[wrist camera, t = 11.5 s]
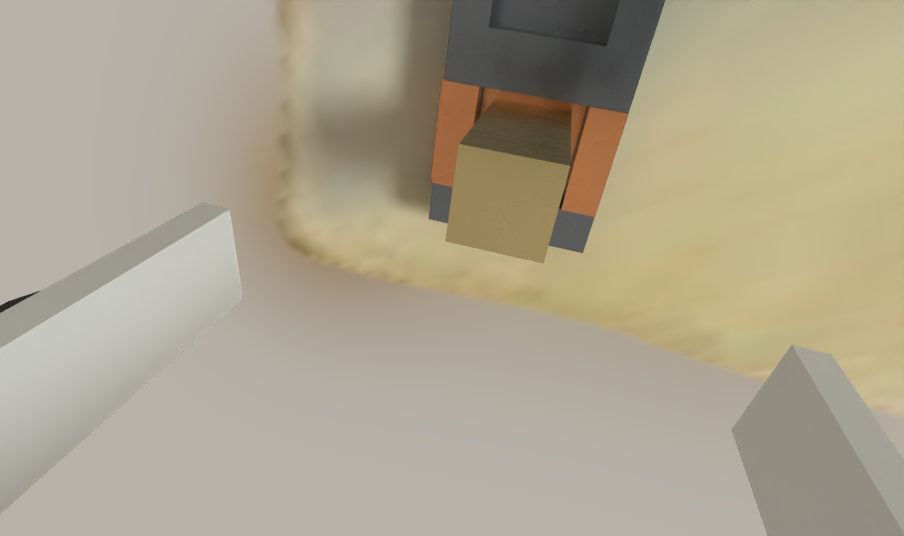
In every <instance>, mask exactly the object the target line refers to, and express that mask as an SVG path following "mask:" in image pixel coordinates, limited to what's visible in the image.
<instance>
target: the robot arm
mask: <svg viewBox="0 0 904 536" xmlns="http://www.w3.org/2000/svg"><path fill="white" fill-rule="evenodd" d="M242 298H243V294H242V288H241V281H240V274H239V268H238V262H237V255H236V248H235V242H234V235H233V229H232V223H231V216H230V210H229V209H226V208H222V207H217V206H213V205H209V204H205V203H201V204H199V205H198V206H195V207H194V208H192V209H190V210H188V211H186V212H184V213H183V214H181V215H179V216H177V217H175V218H174V219H172V220H170V221H168V222H166V223H164V224H162V225H161V226H159V227H157V228H155V229H153V230H152V231H150V232H148V233H146V234H144V235H142V236H140V237H139V238H137V239H135V240H133V241H131V242H129V243H128V244H126V245H124V246H122V247H120V248H119V249H117V250H115V251H113V252H111V253H109V254H108V255H106V256H104V257H102V258H100V259H98V260H96V261H95V262H93V263H91V264H89V265H87V266H85V267H84V268H82V269H80V270H78V271H76V272H75V273H73V274H71V275H69V276H67V277H65V278H64V279H62V280H60V281H58V282H56V283H54V284H53V285H51V286H49V287H47V288H45V289H43V290H41V291H38V292H35V293H32V294H29V295H26V296H23V297H20V298H17V299H14V300H11V301H8V302H6V303H4V304H3V305H1V306H0V514H1V513H2V512H3V511H4V510H5V509H6V508H8V507H9V505H11V504H12V503H13V502H14V501H15V500H16V499H18V498H19V497H20V496H21V495H22V494H23V493H24V492H25V491H27V489H29V488H30V487H31V486H32V485H33V484H34V483H36V482H37V481H38V480H39V479H40V478H41V477H42V476H43V475H45V474H46V473H47V472H48V471H49V470H50V469H51V468H52V467H54V466H55V465H56V464H57V463H58V462H59V461H60V460H61V459H62V458H64V457H65V456H66V455H67V454H68V453H69V452H70V451H72V450H73V449H74V448H75V447H76V446H77V445H78V444H79V443H80V442H82V441H83V440H84V439H85V438H86V437H87V436H88V435H90V434H91V433H92V432H93V431H94V430H95V429H96V428H97V427H99V426H100V425H101V424H102V423H103V422H104V421H105V420H106V419H108V418H109V417H110V416H111V415H112V414H113V413H114V412H115V411H116V410H117V409H119V408H120V407H121V406H122V405H123V404H124V403H125V402H127V401H128V400H129V399H130V398H131V397H132V396H133V395H134V394H136V393H137V392H138V391H139V390H140V389H141V388H142V387H143V386H145V384H147V383H148V382H149V381H150V380H151V379H152V378H154V377H155V376H156V375H157V374H158V373H159V372H160V371H161V370H162V369H163V368H165V367H166V366H167V365H168V364H169V363H170V362H171V361H172V360H174V359H175V358H176V357H177V356H178V355H179V354H181V353H182V352H183V351H184V350H185V349H186V348H187V347H188V346H189V345H191V344H192V343H193V342H194V341H195V340H196V339H197V338H199V337H200V336H201V335H202V334H203V333H204V332H205V331H206V330H208V329H209V328H210V327H211V326H212V325H213V324H214V323H215V322H216V321H218V320H219V319H220V318H221V317H222V316H223V315H224V314H225V313H227V312H228V311H229V310H230V309H231V308H232V307H233V306H234V305H235V304H237V303H238V302H239V301H240V300H241V299H242ZM732 432H733V435H734V438H735V441H736V444H737V447H738V450H739V453H740V456H741V459H742V462H743V464H744V467H745V470H746V473H747V476H748V479H749V482H750V485H751V488H752V491H753V494H754V497H755V500H756V503H757V506H758V509H759V512H760V515H761V517H762V520H763V523H764V526H765V529H766V532H767V535H768V536H904V459H903V458H902V456H901V455H900V453H899V452H898V451H897V449H896V448H895V446H894V445H893V443H892V442H891V440H890V439H889V437H888V436H887V434H886V433H885V432H884V430H883V429H882V427H881V426H880V424H879V423H878V421H877V420H876V419H875V417H874V416H873V414H872V413H871V411H870V410H869V408H868V407H867V405H866V404H865V403H864V401H863V400H862V398H861V397H860V395H859V394H858V392H857V391H856V389H855V388H854V387H853V385H852V384H851V382H850V381H849V379H848V378H847V376H846V375H845V373H844V372H843V371H842V369H841V368H840V366H839V365H838V363H837V362H836V360H835V359H834V357H833V356H832V355H831V354H828V353H824V352H819V351H815V350H811V349H807V348H803V347H799V346H795V345H791V347H790V348H789V350H788V351H787V352H786V354H785V355H784V357H783V358H782V359H781V361H780V362H779V364H778V365H777V366H776V368H775V369H774V371H773V372H772V373H771V375H770V376H769V378H768V379H767V381H766V382H765V383H764V385H763V386H762V388H761V389H760V390H759V392H758V393H757V395H756V396H755V398H754V399H753V400H752V402H751V403H750V405H749V406H748V407H747V409H746V410H745V412H744V413H743V414H742V416H741V417H740V419H739V420H738V421H737V423H736V424H735V426H734V427H733V428H732Z"/></svg>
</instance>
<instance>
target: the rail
mask: <svg viewBox="0 0 904 536" xmlns="http://www.w3.org/2000/svg"><path fill="white" fill-rule="evenodd" d="M664 2H665V0H453V7H452V16H451V25H450V34H449V43H448V52H447V61H446V70H445V77H444V78H442V81H441V90H440V99H439V108H438V118H437V127H436V136H435V145H434V155H433V164H432V173H431V180H433V182H432V183H433V187H432V196H431V204H430V213H429V219H432V220H436V221H441V222H445V223H448V219H449V212H450V204H451V197H452V190H453V182H454V175H455V168H456V161H457V153H458V146H459V143H460V142H461V140H462V139H463V138H464V137H465V135H466V134H467V133H468V132H469V130H470V129H471V128H472V127H473V125H474V124H475V123H476V122H477V120H478V119H479V118H480V117H481V115H482V114H483V113H484V112H485V110H486V109H487V108H488V107H489V105H490V104H491V103H492V102H493V100H494V99H495V98H498V99H504V100H509V101H515V102H520V103H525V104H531V105H536V106H542V107H547V108H553V109H558V110H564V111H569V112H572V121H571V166H570V170H569V173H568V177H567V180H566V184H565V188H564V191H563V195H562V198H561V202H560V206H559V209H558V213H557V217H556V220H555V224H554V227H553V231H552V235H551V238H550V242H549V246H554V247H558V248H563V249H567V250H572V251H576V252H581V253H583V251H584V247H585V244H586V241H587V238H588V235H589V232H590V229H591V226H592V223H593V220H594V217H595V215H596V212H597V209H598V206H599V203H600V200H601V197H602V194H603V190H604V187H605V184H606V181H607V178H608V175H609V172H610V169H611V166H612V163H613V160H614V157H615V154H616V151H617V148H618V145H619V142H620V138H621V135H622V132H623V129H624V126H625V123H626V120H627V117H628V113H629V110H630V107H631V104H632V100H633V97H634V94H635V91H636V88H637V85H638V82H639V79H640V76H641V73H642V70H643V67H644V64H645V61H646V58H647V55H648V51H649V48H650V45H651V42H652V39H653V36H654V33H655V30H656V27H657V24H658V21H659V18H660V15H661V12H662V9H663V6H664Z"/></svg>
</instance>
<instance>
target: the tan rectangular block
mask: <svg viewBox="0 0 904 536" xmlns="http://www.w3.org/2000/svg"><path fill="white" fill-rule="evenodd" d="M571 121H572V112H569V111H564V110H558V109H553V108H547V107H542V106H536V105H531V104H525V103H520V102H515V101H509V100H504V99H498V98H495V99H494V100H493V102H492V103H491V104H490V105H489V107H488V108H487V109H486V110H485V112H484V113H483V114H482V115H481V117H480V118H479V119H478V120H477V122H476V123H475V124H474V125H473V127H472V128H471V129H470V130H469V132H468V133H467V134H466V135H465V137H464V138H463V139H462V140H461V142H460V143H459V146H458V153H457V161H456V168H455V175H454V182H453V190H452V197H451V204H450V212H449V219H448V226H447V234H446V241H447V242H451V243H456V244H460V245H465V246H469V247H473V248H478V249H482V250H487V251H491V252H495V253H500V254H504V255H509V256H513V257H518V258H522V259H526V260H531V261H535V262H540V263H544V260H545V256H546V253H547V249H548V245H549V242H550V238H551V235H552V231H553V227H554V224H555V220H556V217H557V213H558V209H559V206H560V202H561V198H562V195H563V191H564V188H565V184H566V180H567V177H568V173H569V170H570V166H571Z"/></svg>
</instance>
